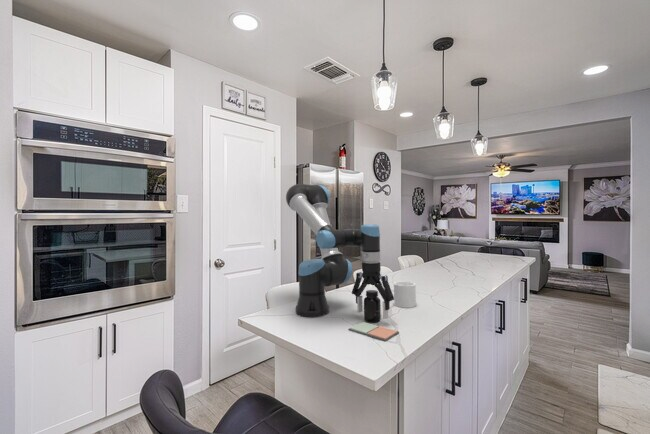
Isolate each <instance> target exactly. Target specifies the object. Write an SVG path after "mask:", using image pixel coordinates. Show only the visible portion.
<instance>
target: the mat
mask: <svg viewBox="0 0 650 434" xmlns="http://www.w3.org/2000/svg"><path fill="white" fill-rule="evenodd" d="M347 330H348V331H350V332H352V333H356V334H360V335H363V336H366V337H370V338H372V339H376V340H379V341H383V342H388V341H389V340H390V339H392V338H394V337H395V336H397V335H399V334H400V332H399V330H398V331H397V330H395V329H391V328H388V327H384V326H379V325H376V324H374V323H369V322H366V321H365V322H364V321H362V322H359V323H357V324H355V325H353V326H351V327H349V328H348V329H347Z"/></svg>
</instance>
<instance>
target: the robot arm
mask: <svg viewBox="0 0 650 434" xmlns="http://www.w3.org/2000/svg"><path fill="white" fill-rule="evenodd" d="M285 200H286V204H287V206H288V207H289V208H290V210H292V211H294V212H296V214H297V215H299V217H300V218H301V219H302V220H303V222H305V224H306V225H307V226H308V227H309V229H310V230H311V231H313V234H315V236H316V237H315V241H316V243H317V244H316V245H317V247H318V248H319V251H320V254H321V258H314V259H313V258H311V259H306V260H303V261H302V262H301V263H300V264H299V265H298V272H297V273H298V291H299V295H298V299H297V305H296V307H295V314H296V315H297V316H299V315H300V317H302V318H303V317H304V318H317V317H323V316H326V315H328V314H329V313H330V306H329V304H328V301H327V297H326V291H325V289H326V287H331V286H337V285H342V284H347V282H349V281H350V279H351V278H352V276H353V275H352V274H353V266H352V263H351V261H350V260H349V259H347V258H345V257H344V254H343V253H342V252H340V251H339V248H347V247H359V248H360V247H361V261H362V263H361V270H362V271H360V272H357V273H355V275H356V276H355V281H354V284H353V287H352V290H351V294H352V295H354V296H355V303H356V304H357V306H356V307H357V308H356V309H357V310H356V311H357V313H361V312H364V301H363V295H362V294H363V292H364V291H365V289H366V287H367V286H368V285H371V286H373V287H375V288H376V290H377V291H378V294H380V296H381V298H382V299H383V301H382V319H384V320H386V319H388V317H389V310H390V307H391V306H390V304H391V303H390V302H392V301H394V293H393V291H392V289H391V286H390V282H389V280H388V275H381V271H382V270H381V269H382V268H381V242H380V241H381V239H380V238H381V233H380V226H379V225H378V224H362V225H361V226H360V227H361V228H346V229H335V228H334V227H333V226H332V225H331V222H330V218H329V215H328V212H327V208H328V206H329V203H330V192H329V190H328V189H327V188H326V187H325V186H324V185H320V184H306V183H305V184H303V183H296V184H294V185H292V186H291V187H289V188H288V189H287V191H286V194H285ZM361 281H362V282H361Z"/></svg>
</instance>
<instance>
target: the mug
mask: <svg viewBox="0 0 650 434" xmlns="http://www.w3.org/2000/svg"><path fill="white" fill-rule="evenodd" d="M393 297H394V300H393V301H394V303H393V304H394V307H397V308H399V309H400V308H401V309H414V308H415V307H416V304H417V302H416V297H417V296H416V283H415V282H411V281H395V282H394V283H393Z"/></svg>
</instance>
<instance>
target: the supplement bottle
mask: <svg viewBox="0 0 650 434" xmlns="http://www.w3.org/2000/svg"><path fill="white" fill-rule="evenodd" d="M381 304H382V303H381V298H379V291H378V290H377V289H376V290H374V289H372V290H371V289H368V290H366V291H365V297H364V299H363V320H364V321H365V323H369V324H376V323H377V324H378V323H379V322H381V320H382V318H381V317H382V316H381V313H382V312H381V309H382V308H381V306H382V305H381Z"/></svg>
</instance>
